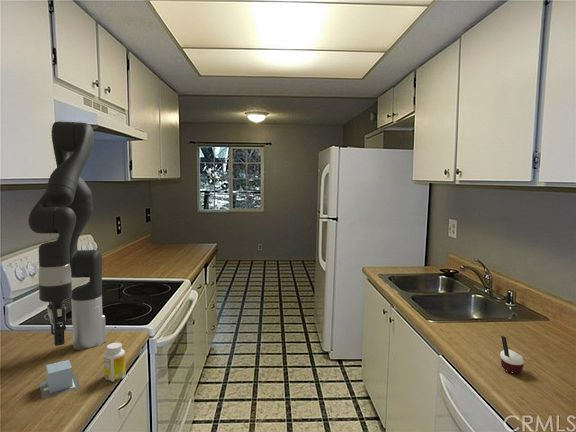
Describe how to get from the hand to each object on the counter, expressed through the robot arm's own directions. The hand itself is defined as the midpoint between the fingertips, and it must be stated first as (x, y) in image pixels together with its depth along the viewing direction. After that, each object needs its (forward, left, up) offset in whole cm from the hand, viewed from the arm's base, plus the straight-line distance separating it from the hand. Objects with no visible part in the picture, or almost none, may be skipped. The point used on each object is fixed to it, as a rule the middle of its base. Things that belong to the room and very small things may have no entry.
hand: (57, 339), depth 103 cm
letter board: (0, 0, -14) cm, 14 cm away
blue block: (0, 0, -13) cm, 13 cm away
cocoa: (-80, +108, -14) cm, 136 cm away
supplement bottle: (-11, +8, -14) cm, 20 cm away
